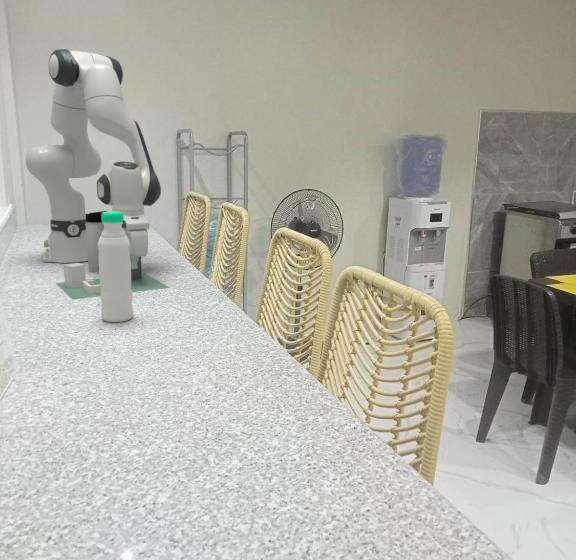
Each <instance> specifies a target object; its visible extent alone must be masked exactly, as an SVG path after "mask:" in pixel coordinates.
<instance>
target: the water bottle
mask: <svg viewBox="0 0 576 560" xmlns="http://www.w3.org/2000/svg"><path fill="white" fill-rule="evenodd" d="M105 211H106V212H103V213H102V214H101V220H102V222H103V223H102V224H103V225H104V229H103V231H102V233H101V237H100V238H99V241H98V249H99V273H98V275H99V279H100V285H101V296H100V302H101V309H100V310H101V312H100V313H101V319H102V320H103V321H105V322H108V323H123V322H128V321H130V320H131V319H132V318H133V317H134V308H133V307H134V306H133V292H132V290H131V260H130V252H129V248H130V242H129V240H128V238H127V236H126V234H125V232H124V230H123V229H122V224H123V220H124V216H123V213H122V212H119V211H112V210H109V211H108V210H105Z"/></svg>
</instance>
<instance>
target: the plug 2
mask: <svg viewBox="0 0 576 560" xmlns="http://www.w3.org/2000/svg"><path fill="white" fill-rule="evenodd" d="M130 260H131V257H130ZM137 265H138V268H137V269H131V281H133V280H142V274H143V273H142V257H139V259H138V263H137Z"/></svg>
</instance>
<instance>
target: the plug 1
mask: <svg viewBox="0 0 576 560" xmlns="http://www.w3.org/2000/svg"><path fill="white" fill-rule="evenodd" d="M85 266H86V265H85V264H83V263H80V262H72V263H64V264H63V272H64V282H65V286H67V287H70V288H78V287H82V281H86V280H87V279H86V267H85Z"/></svg>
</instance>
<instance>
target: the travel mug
mask: <svg viewBox="0 0 576 560" xmlns="http://www.w3.org/2000/svg"><path fill="white" fill-rule="evenodd" d="M106 211H107V210H103V211H95V212H94V211H93V212H89V213H85V214H86V233H87V249H88V261H87V262H88V263H87V264H88V273H89V274H99V249H98V241H99V238H100V237H101V233H102V231H103V229H104V225H103V224H102V223H103V222H102V220H101V214H102V213H103V212H106Z"/></svg>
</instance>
